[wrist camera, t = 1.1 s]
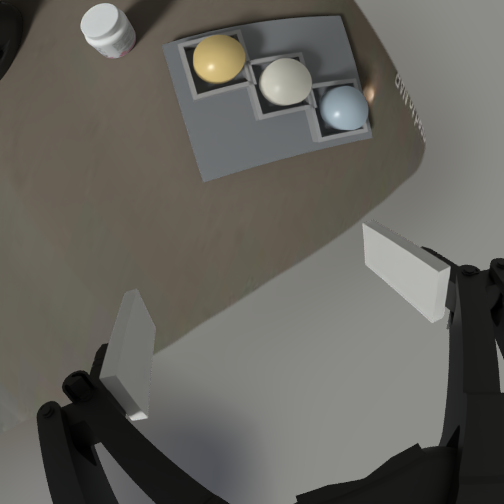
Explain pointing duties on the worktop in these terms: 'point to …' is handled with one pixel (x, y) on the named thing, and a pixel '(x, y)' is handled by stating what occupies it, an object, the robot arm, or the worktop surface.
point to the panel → (254, 103)
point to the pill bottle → (108, 30)
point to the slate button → (343, 108)
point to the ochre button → (218, 59)
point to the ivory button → (285, 82)
